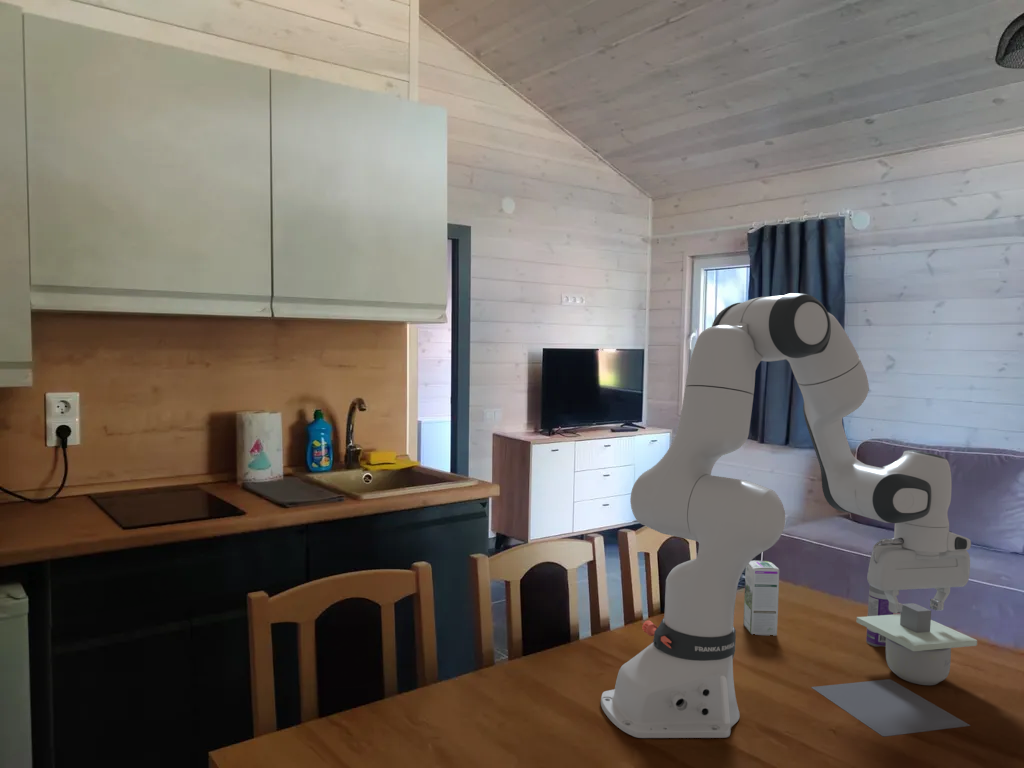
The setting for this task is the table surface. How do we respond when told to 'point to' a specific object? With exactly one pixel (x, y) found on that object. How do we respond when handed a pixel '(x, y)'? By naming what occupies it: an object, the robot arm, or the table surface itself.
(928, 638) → the lid
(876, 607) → the container
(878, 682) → the mat
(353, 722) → the table surface
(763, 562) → the syrup box
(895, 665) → the teacup
